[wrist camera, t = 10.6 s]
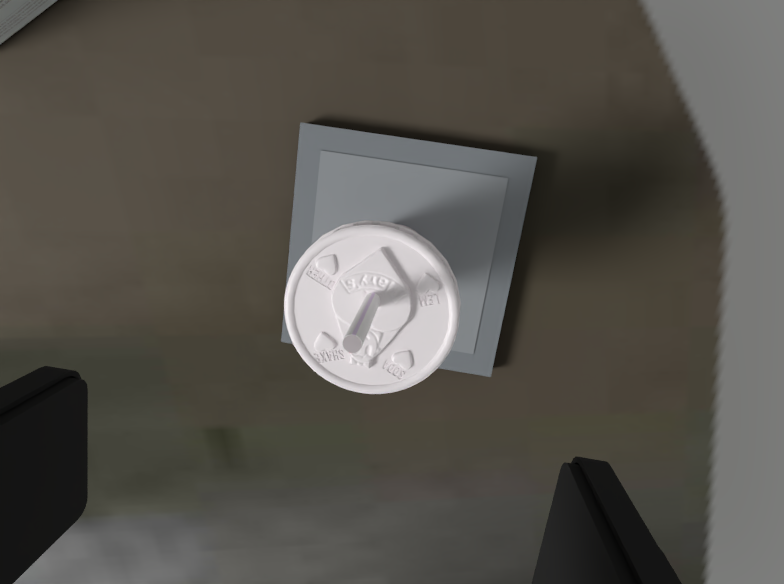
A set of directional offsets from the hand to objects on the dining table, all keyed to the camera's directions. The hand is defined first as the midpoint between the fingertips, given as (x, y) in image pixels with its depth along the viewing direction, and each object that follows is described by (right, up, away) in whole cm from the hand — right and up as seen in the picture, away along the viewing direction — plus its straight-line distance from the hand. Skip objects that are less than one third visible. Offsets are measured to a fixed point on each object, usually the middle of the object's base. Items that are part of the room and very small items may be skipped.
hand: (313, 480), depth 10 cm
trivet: (+2, +6, +19) cm, 20 cm away
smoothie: (+2, +5, +18) cm, 19 cm away
